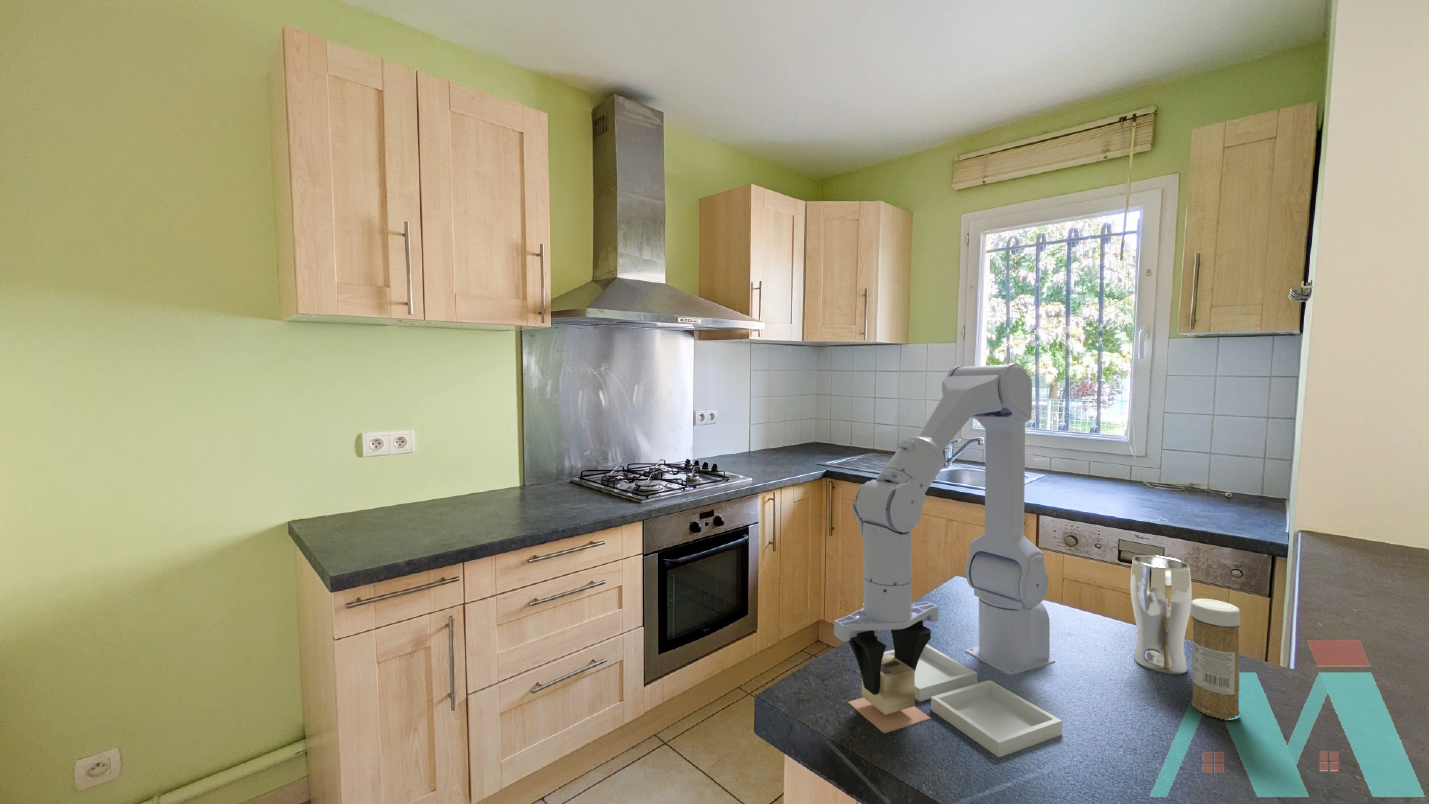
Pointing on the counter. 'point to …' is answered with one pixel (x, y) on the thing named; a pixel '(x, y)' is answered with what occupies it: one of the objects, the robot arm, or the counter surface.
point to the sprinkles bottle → (1215, 658)
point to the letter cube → (893, 686)
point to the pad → (888, 716)
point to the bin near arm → (939, 674)
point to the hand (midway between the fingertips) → (887, 686)
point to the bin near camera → (996, 717)
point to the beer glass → (1161, 611)
